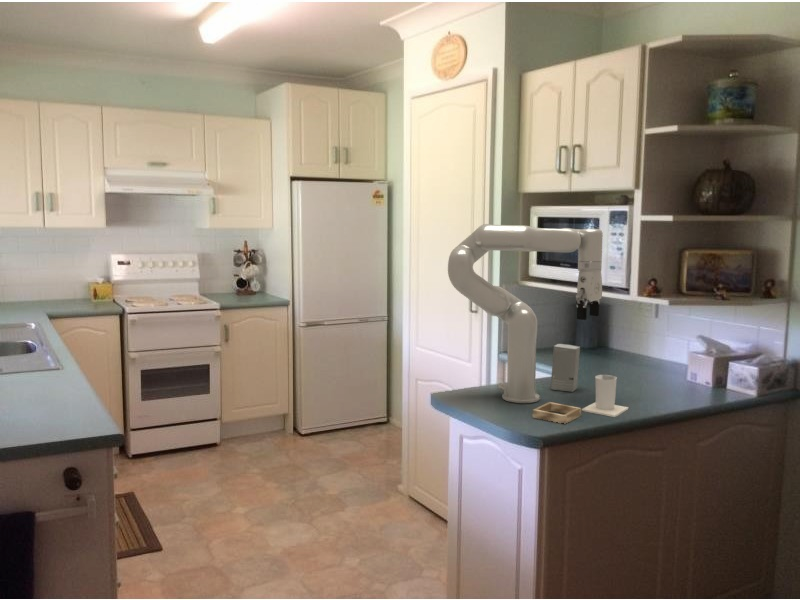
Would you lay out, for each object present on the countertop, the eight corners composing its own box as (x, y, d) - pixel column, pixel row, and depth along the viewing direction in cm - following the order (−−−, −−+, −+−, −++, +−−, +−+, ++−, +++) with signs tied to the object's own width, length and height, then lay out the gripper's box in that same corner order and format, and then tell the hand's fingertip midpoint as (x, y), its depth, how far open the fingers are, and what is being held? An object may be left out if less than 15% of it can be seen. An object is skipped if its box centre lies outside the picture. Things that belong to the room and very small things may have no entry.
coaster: (581, 410, 230) (581, 409, 230) (596, 403, 239) (596, 401, 239) (614, 417, 224) (614, 415, 223) (628, 409, 232) (628, 407, 232)
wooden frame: (532, 417, 224) (532, 409, 223) (549, 409, 232) (549, 402, 232) (565, 424, 217) (565, 416, 216) (580, 415, 225) (581, 408, 225)
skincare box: (550, 389, 256) (551, 346, 254) (556, 385, 262) (557, 342, 260) (574, 392, 252) (575, 348, 250) (579, 387, 258) (580, 344, 256)
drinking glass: (612, 404, 235) (613, 374, 234) (618, 410, 229) (619, 379, 227) (591, 404, 235) (592, 374, 234) (597, 410, 229) (598, 379, 227)
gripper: (589, 269, 227) (587, 322, 230) (611, 265, 241) (609, 315, 243) (567, 267, 232) (565, 319, 235) (590, 263, 245) (588, 313, 248)
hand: (588, 317), depth 239 cm, fingers open, 9 cm apart
